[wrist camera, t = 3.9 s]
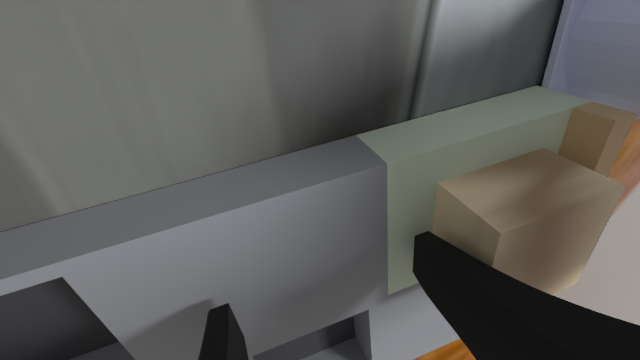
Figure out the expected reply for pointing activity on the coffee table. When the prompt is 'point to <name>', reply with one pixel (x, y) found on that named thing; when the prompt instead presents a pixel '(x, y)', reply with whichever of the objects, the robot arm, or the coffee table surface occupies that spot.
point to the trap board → (279, 243)
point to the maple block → (528, 216)
